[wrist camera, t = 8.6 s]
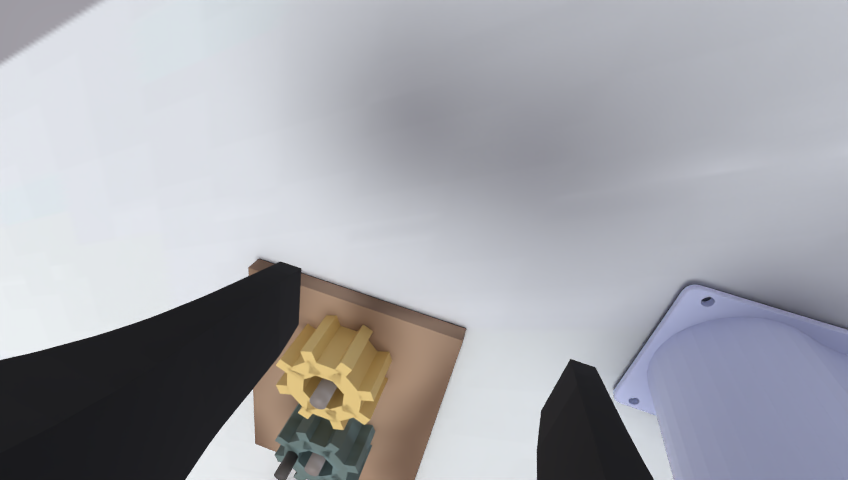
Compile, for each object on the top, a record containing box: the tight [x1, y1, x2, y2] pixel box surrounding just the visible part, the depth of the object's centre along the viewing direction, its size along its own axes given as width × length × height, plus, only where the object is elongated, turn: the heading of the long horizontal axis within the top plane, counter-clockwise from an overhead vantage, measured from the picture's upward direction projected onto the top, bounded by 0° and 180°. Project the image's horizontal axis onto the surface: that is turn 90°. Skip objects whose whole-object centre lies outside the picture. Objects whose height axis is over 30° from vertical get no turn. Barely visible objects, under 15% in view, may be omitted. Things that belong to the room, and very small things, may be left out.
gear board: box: [249, 259, 466, 480], centre depth 26 cm, size 13×18×6 cm
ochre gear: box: [276, 315, 392, 430], centre depth 24 cm, size 6×6×3 cm
